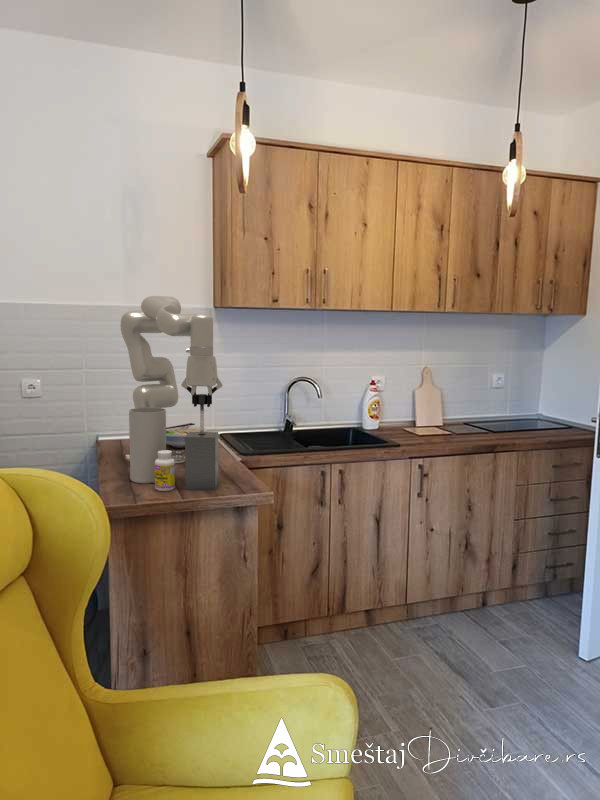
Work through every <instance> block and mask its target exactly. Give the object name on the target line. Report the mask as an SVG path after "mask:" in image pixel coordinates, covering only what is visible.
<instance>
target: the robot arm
mask: <svg viewBox="0 0 600 800" xmlns="http://www.w3.org/2000/svg"><path fill="white" fill-rule="evenodd" d="M140 309H141V310H131V311H127V312H125V313H123V315H121V319H120V327H119V328H120V332H121V333H120V334H121V337H122V338H123V341H124V342H125V345H126V349H127V351H128V358H129V362H130V369H131V372H132V377H133V379H134V380H135V381H136V382H141V383H149V382H158V383H149V384H141V385H138V386H137V387H135V388H134V390H133V393H132V400H133V405H134V408H148V407H151V408H163V409H166V408H172V407H173V408H174V407H175V406H177V404H178V403H179V391H178V385H177V379H176V375H175V369H174V366H173V363H172V362H171V360H170V359H169V358H168V357H164V356H153V355H152V350H151V345H150V343H149V342H148V341H147V339H146V338H145V337H144V336H143V335H142V334H162V333H163V334H166V335H167V336H171V337H190V347H188V348H186V350H185V352H186V353H188V354H189V356H188V357H187V361H186V372H185V374H186V375H185V378H184V380H183V381H182V382H181V385H180V386H181V387H182V388H184V389H185V390H187V392H188V393H189V394H190V395H191V404H192V405H193V407H194V408H195V407H197V406H198V404H197V387H207V404H206V407H207V408H210V407H211V405H213V394H214V393H215V392H216V391H218V390H219V389H221V388H223V383H222V381H221V380H220V378H219V377H218V366H217V360H216V356H215V355H214V318H213V316H211V315H210V314H209V315H208V314H196V313H195V314H192V313H191V314H190V313H181V311H182V307H181V303H180V301H179V300H178V299H177V298H176V297H173V296H165V295H149V296H147V297H145V298H143V300H142V301H141V304H140ZM125 460H127V461H130V454H125Z"/></svg>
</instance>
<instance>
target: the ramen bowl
mask: <svg viewBox="0 0 600 800" xmlns="http://www.w3.org/2000/svg"><path fill="white" fill-rule="evenodd" d="M195 425H196V423H194V422H189V423H184V424H179V425H173V426H166V445H170V446H172V447H173V448H177V449H179V448H180V449H182V448H183V449H184V448H185V437H186V435H187V434H188V433H189V432H200V426H195ZM204 432H208V430H207V428H205V427H204Z"/></svg>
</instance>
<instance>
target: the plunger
mask: <svg viewBox="0 0 600 800" xmlns="http://www.w3.org/2000/svg"><path fill="white" fill-rule="evenodd" d="M196 394H197V393H196ZM207 395H208V393H198V394H197V406H198V405H199V406H200V408H199V409H200V411H199V412H200V415H199V416H200V418H199V419H200V423H199V424H200V426H199V427H200V435H204V428H205V405H206V406H207Z"/></svg>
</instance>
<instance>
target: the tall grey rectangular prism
mask: <svg viewBox="0 0 600 800" xmlns="http://www.w3.org/2000/svg"><path fill="white" fill-rule="evenodd" d="M184 455H185V458H184V459H185V461H184V462H185V463H184V464H185V465H184V466H185V469H184V471H185V477H184V478H185V480H184V481H185V482H184V483H185V490H186V491H193V490H194V491H195V490H196V491H197V490H198V491H215V490H217V487H218V484H219V431H206V432H204V435H200V432H189V433H188V434H187V435H186V437H185V451H184Z"/></svg>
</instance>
